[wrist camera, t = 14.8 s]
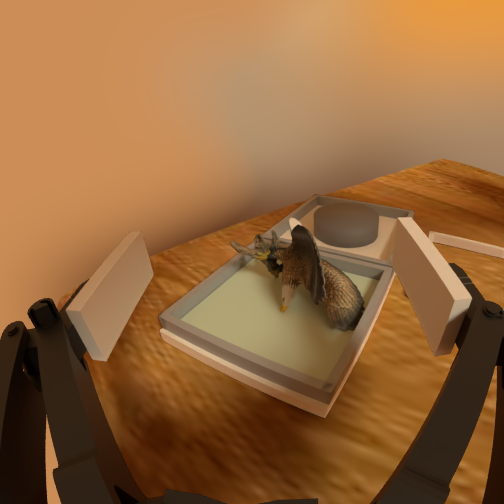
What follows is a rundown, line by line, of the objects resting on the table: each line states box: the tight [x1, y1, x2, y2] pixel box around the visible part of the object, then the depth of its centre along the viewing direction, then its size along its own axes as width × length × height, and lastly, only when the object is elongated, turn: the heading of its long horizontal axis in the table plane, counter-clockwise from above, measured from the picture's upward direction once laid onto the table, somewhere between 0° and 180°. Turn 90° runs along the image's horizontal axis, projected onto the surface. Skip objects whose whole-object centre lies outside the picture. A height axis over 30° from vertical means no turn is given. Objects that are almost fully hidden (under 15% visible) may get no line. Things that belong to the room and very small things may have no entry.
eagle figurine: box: [230, 218, 365, 331], centre depth 22 cm, size 8×7×9 cm
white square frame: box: [428, 231, 504, 310], centre depth 24 cm, size 12×12×1 cm
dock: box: [159, 194, 415, 418], centre depth 28 cm, size 27×13×3 cm, turn 146°
